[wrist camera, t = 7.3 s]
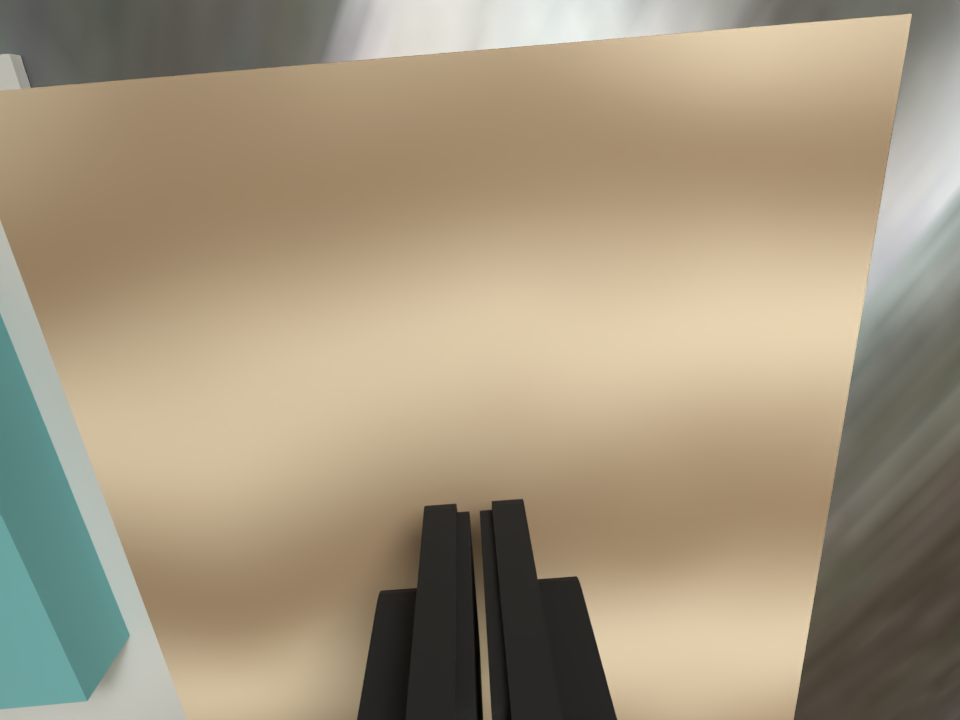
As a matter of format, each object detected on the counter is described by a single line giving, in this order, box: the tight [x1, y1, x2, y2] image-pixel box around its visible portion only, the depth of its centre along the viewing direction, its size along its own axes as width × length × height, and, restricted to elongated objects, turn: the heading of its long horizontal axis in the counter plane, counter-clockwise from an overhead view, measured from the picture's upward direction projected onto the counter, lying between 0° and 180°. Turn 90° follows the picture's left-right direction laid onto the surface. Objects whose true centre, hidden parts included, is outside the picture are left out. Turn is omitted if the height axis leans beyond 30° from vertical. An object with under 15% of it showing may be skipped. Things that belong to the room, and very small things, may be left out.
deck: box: [0, 14, 912, 720], centre depth 13 cm, size 16×13×4 cm
